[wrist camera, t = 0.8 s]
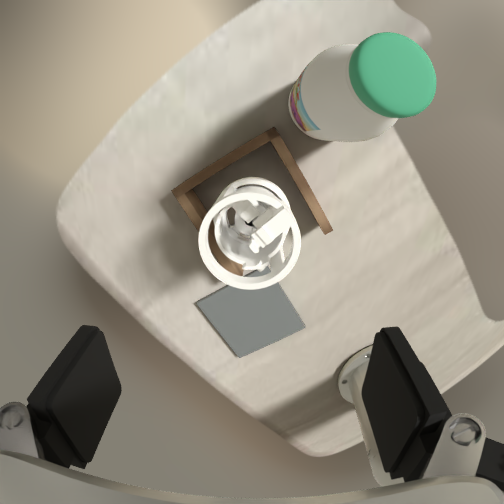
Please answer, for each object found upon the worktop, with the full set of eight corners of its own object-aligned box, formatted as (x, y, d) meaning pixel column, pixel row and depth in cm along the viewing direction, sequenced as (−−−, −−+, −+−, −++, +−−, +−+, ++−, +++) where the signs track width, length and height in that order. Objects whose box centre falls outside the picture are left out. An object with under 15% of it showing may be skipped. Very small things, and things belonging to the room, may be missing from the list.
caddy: (326, 221, 35) (333, 230, 32) (236, 271, 38) (234, 284, 34) (273, 127, 32) (274, 126, 28) (179, 185, 34) (171, 190, 31)
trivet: (304, 324, 40) (305, 327, 40) (239, 355, 42) (239, 358, 42) (266, 263, 37) (266, 266, 37) (197, 301, 39) (196, 303, 39)
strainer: (298, 206, 35) (324, 255, 21) (250, 245, 36) (244, 315, 22) (257, 157, 33) (254, 172, 19) (208, 199, 35) (173, 243, 21)
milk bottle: (366, 90, 30) (474, 55, 11) (342, 151, 32) (436, 175, 14) (302, 62, 29) (350, -20, 10) (277, 124, 32) (299, 105, 13)
